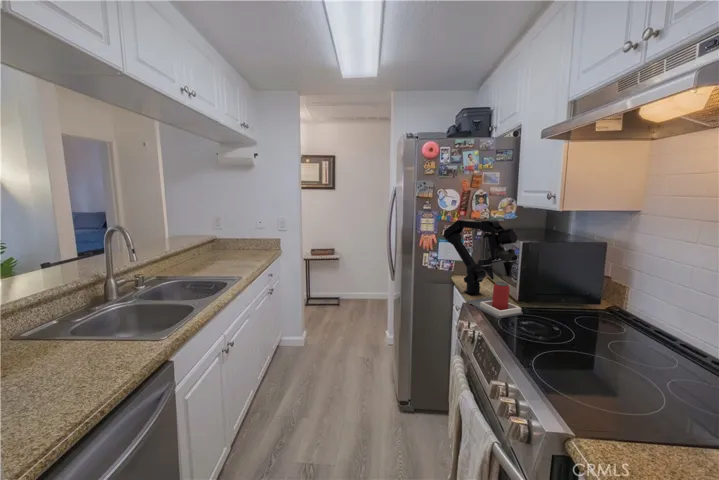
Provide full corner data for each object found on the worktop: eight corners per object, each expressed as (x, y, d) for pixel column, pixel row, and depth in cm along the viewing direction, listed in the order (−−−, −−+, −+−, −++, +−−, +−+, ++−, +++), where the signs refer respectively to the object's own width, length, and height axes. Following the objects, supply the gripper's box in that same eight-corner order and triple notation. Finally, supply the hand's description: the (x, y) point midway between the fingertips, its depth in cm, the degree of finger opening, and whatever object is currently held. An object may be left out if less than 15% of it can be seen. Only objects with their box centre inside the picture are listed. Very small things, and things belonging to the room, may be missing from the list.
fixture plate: (466, 302, 153) (466, 296, 153) (489, 299, 158) (489, 293, 158) (497, 318, 135) (498, 311, 134) (522, 314, 140) (523, 307, 139)
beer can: (503, 313, 138) (505, 286, 136) (489, 308, 143) (491, 283, 141) (510, 309, 142) (512, 283, 140) (496, 305, 147) (498, 280, 145)
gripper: (488, 246, 143) (495, 281, 142) (523, 241, 148) (529, 275, 147) (474, 248, 154) (480, 281, 153) (507, 244, 159) (512, 275, 157)
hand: (500, 278), depth 152 cm, fingers open, 9 cm apart
